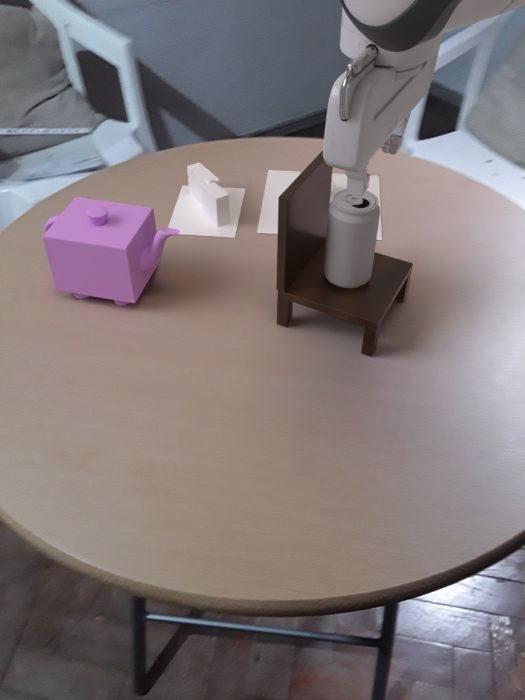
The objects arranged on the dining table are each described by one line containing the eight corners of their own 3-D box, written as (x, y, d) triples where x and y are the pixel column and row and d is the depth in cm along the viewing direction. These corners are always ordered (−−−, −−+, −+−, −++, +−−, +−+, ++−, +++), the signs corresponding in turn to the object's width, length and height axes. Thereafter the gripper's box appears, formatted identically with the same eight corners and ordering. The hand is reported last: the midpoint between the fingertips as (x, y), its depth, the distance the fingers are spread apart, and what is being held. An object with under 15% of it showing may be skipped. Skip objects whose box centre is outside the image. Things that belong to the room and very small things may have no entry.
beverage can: (351, 298, 88) (361, 220, 80) (313, 277, 91) (318, 199, 83) (380, 276, 92) (392, 198, 83) (342, 256, 95) (350, 180, 86)
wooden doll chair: (406, 296, 98) (431, 172, 84) (372, 357, 89) (393, 229, 75) (316, 268, 103) (326, 146, 89) (275, 323, 94) (278, 197, 80)
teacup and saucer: (335, 185, 119) (337, 164, 117) (334, 210, 114) (336, 189, 111) (285, 183, 120) (286, 162, 117) (282, 207, 114) (282, 186, 112)
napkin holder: (181, 185, 120) (178, 155, 116) (245, 188, 119) (245, 158, 115) (165, 234, 109) (162, 203, 105) (236, 237, 108) (235, 206, 104)
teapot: (42, 295, 98) (21, 222, 89) (73, 254, 105) (56, 182, 96) (174, 318, 94) (165, 244, 86) (196, 274, 101) (190, 201, 93)
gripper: (381, 77, 53) (365, 228, 62) (458, 1, 66) (435, 136, 75) (308, 63, 55) (303, 211, 64) (396, -8, 68) (381, 124, 77)
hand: (374, 170), depth 70 cm, fingers open, 8 cm apart
